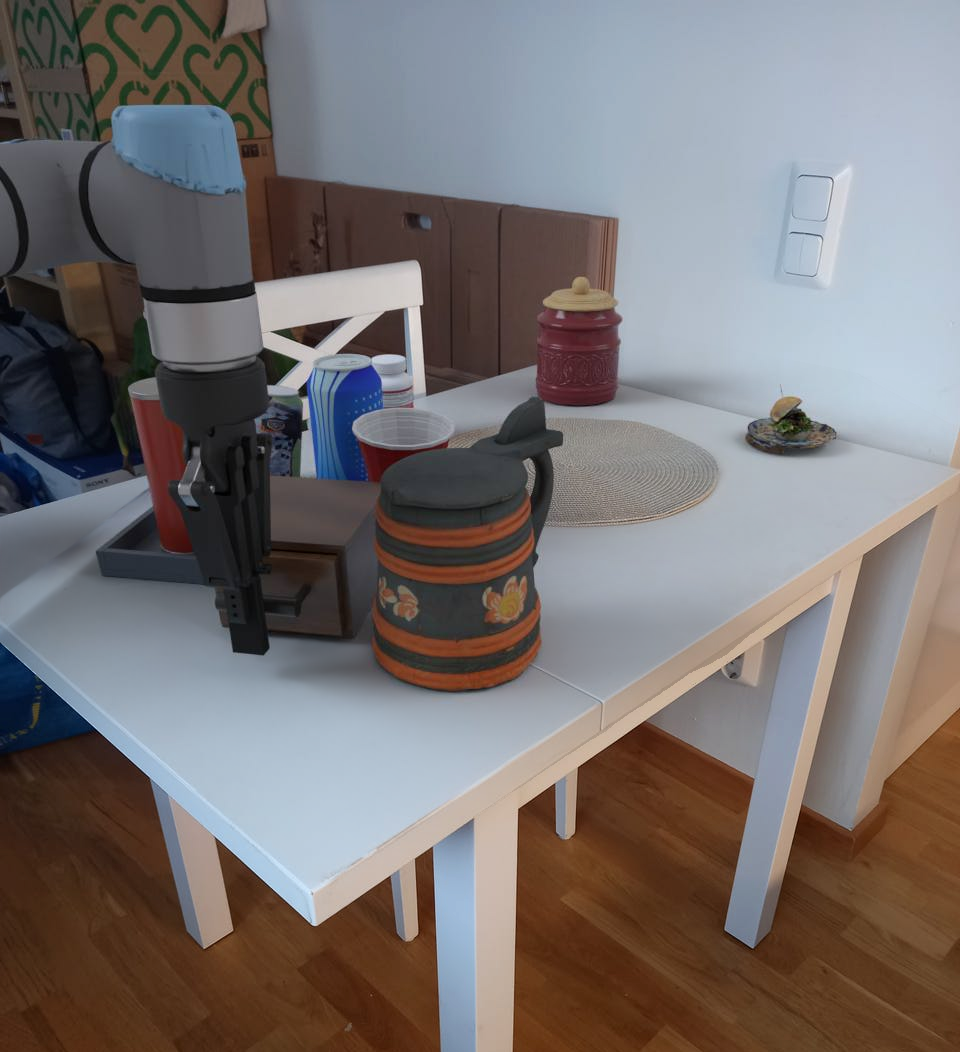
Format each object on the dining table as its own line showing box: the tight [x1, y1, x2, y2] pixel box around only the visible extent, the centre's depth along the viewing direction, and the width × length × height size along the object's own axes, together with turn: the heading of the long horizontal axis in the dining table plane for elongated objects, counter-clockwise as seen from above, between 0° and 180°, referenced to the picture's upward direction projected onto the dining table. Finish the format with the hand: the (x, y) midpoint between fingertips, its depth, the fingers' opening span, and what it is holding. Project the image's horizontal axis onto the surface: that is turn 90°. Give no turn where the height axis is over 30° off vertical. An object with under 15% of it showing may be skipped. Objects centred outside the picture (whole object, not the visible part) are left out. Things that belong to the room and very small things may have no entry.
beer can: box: [306, 353, 383, 482], centre depth 107 cm, size 8×8×16 cm
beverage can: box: [254, 384, 304, 477], centre depth 112 cm, size 6×7×12 cm
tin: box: [127, 376, 195, 555], centre depth 93 cm, size 6×6×17 cm
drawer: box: [213, 549, 346, 636], centre depth 84 cm, size 18×11×7 cm, turn 169°
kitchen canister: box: [535, 276, 624, 406], centre depth 142 cm, size 13×13×18 cm
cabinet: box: [221, 476, 381, 639], centre depth 87 cm, size 15×13×9 cm
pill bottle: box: [371, 353, 415, 409], centre depth 126 cm, size 6×6×11 cm
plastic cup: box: [352, 407, 455, 482], centre depth 100 cm, size 11×11×12 cm
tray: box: [95, 505, 205, 585], centre depth 97 cm, size 14×14×3 cm
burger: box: [745, 384, 837, 455], centre depth 124 cm, size 12×12×8 cm
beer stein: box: [372, 396, 564, 692], centre depth 77 cm, size 19×15×20 cm
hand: (251, 650), depth 76 cm, fingers closed
